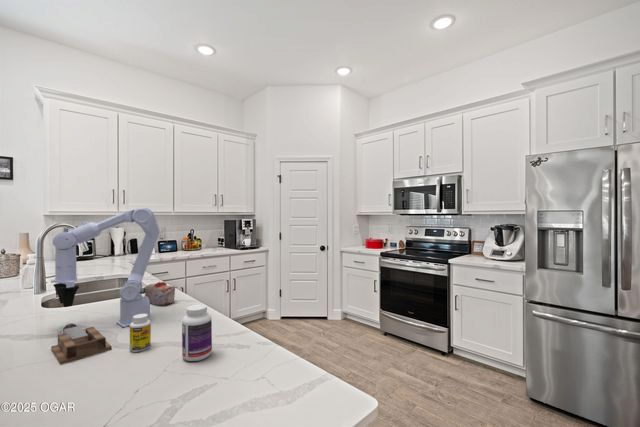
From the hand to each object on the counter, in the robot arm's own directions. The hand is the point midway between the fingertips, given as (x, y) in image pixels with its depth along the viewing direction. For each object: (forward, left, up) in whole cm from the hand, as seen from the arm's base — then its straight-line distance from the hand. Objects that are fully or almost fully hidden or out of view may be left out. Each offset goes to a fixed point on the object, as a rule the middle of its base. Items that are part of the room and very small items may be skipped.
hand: (66, 304), depth 106 cm
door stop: (0, +13, -9) cm, 16 cm away
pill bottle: (-21, +53, -10) cm, 58 cm away
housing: (0, +22, -9) cm, 24 cm away
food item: (-35, -9, -10) cm, 37 cm away
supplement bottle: (-12, +35, -10) cm, 38 cm away
